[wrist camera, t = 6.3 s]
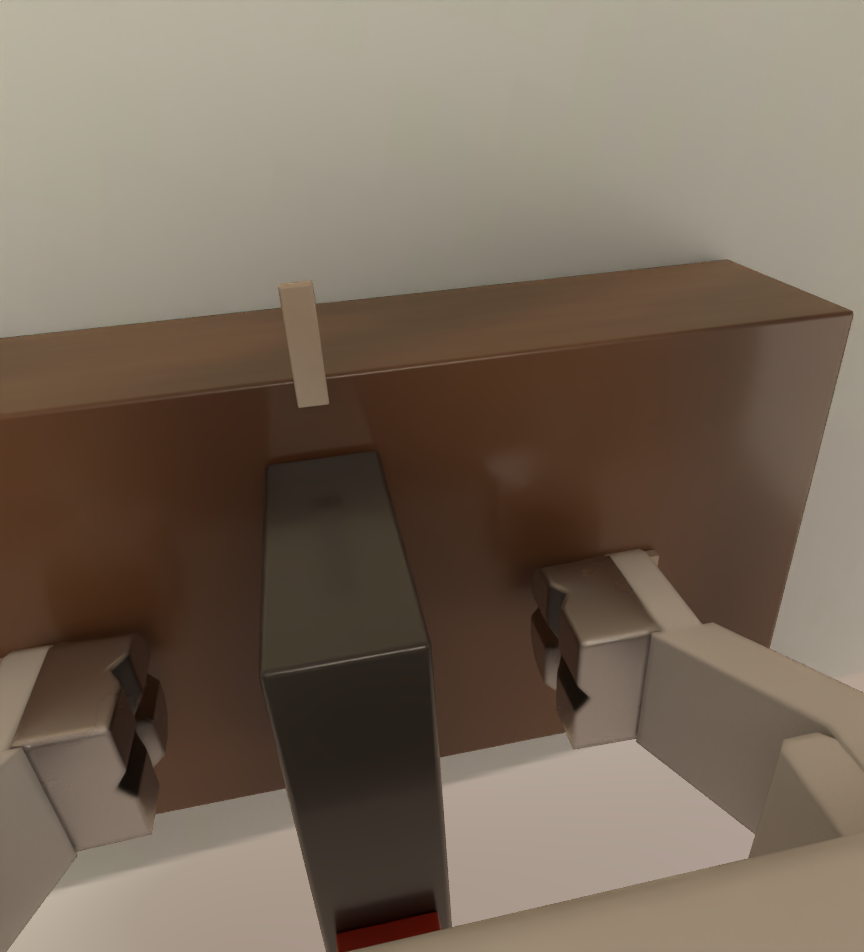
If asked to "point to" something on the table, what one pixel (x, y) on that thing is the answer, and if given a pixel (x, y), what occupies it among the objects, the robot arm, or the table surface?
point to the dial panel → (409, 476)
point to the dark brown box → (352, 701)
